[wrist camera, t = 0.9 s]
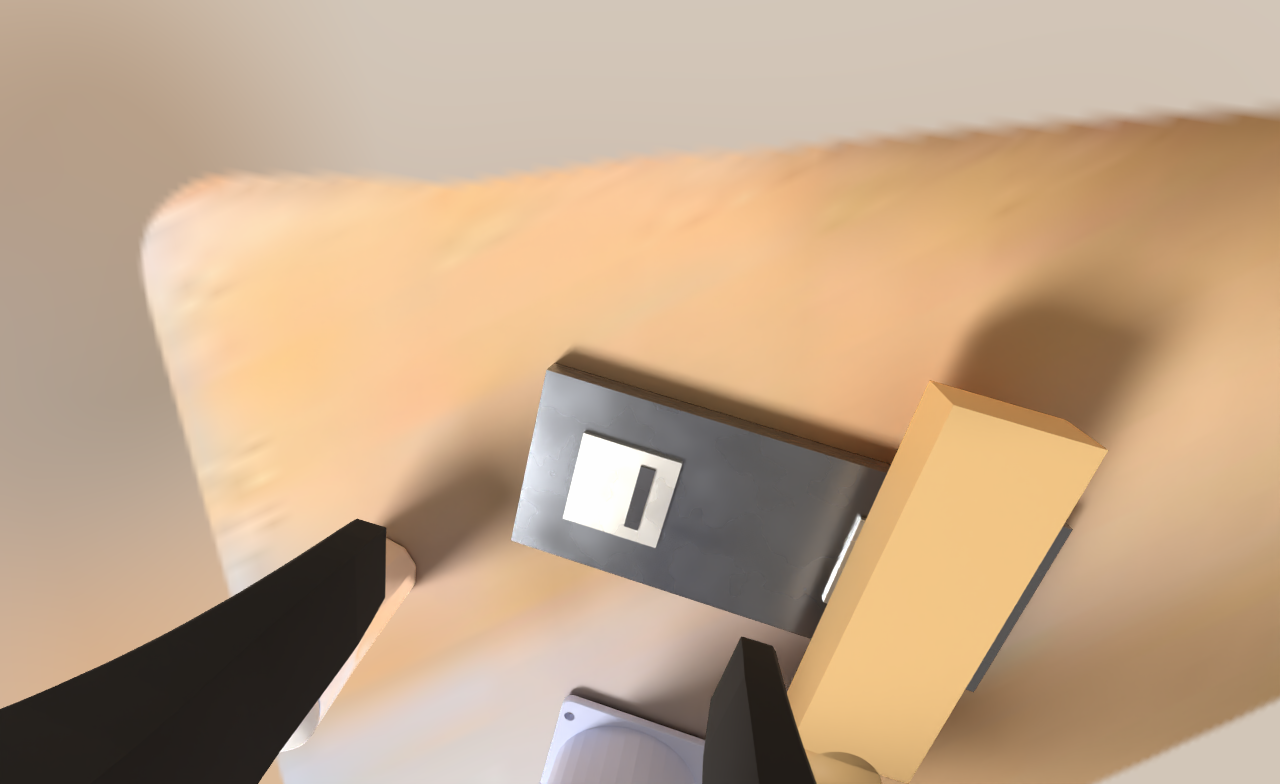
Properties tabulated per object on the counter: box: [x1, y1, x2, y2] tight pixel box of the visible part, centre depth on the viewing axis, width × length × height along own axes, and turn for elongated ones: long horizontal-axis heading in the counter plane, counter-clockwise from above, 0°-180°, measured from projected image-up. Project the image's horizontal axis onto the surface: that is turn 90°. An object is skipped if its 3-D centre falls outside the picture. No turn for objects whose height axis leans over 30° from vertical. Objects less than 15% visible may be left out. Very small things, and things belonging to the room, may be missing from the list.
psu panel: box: [511, 363, 1072, 692], centre depth 24 cm, size 8×20×1 cm, turn 76°
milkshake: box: [280, 538, 416, 752], centre depth 24 cm, size 4×5×10 cm
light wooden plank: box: [787, 380, 1108, 784], centre depth 21 cm, size 16×4×2 cm, turn 166°
